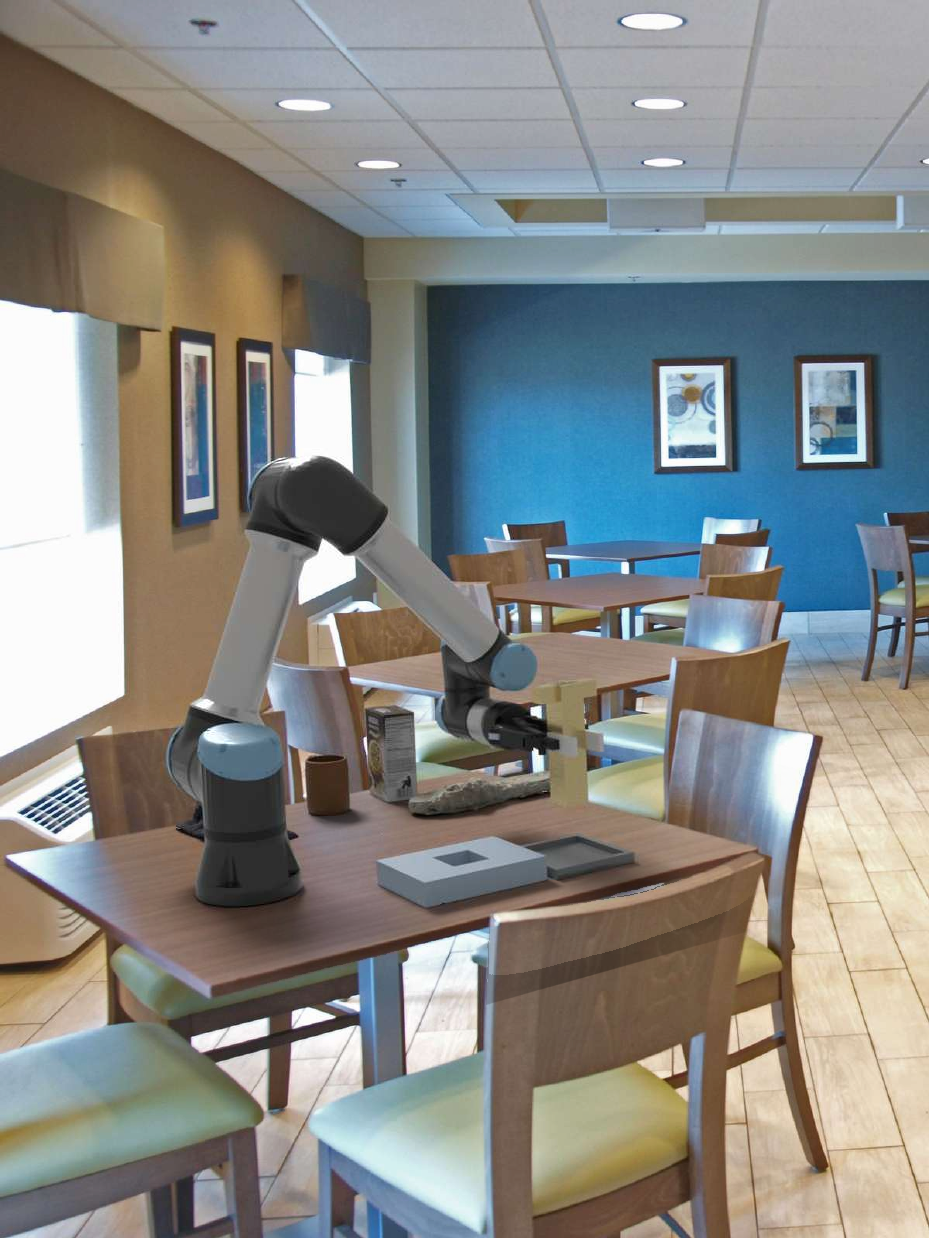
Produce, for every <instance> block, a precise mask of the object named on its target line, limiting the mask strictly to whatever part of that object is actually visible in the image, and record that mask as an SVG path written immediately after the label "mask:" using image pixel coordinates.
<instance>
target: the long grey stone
mask: <svg viewBox="0 0 929 1238" xmlns="http://www.w3.org/2000/svg"><path fill="white" fill-rule="evenodd" d="M542 791H547V793H550V774H549V770H548V771H547V770H540V771H535V772H531V773H527V774H521V775H515V776H514V775H513V776H508V777H504V778H499V779H494V780H489V781H487V780H485V779H484V778H479V777H472V778H469V779H468V781H462V782H457V783H453V784H450V785H443V786H440V787H439V788H438V789H434V790H432V791H431V790H430V791H428V792H425V793H422V794H420V795H417V797H413V798H411V799H408V810H409V811H410V812H411V813H415V814H421V815H422V814H423V815H427V816H431V815H439V814H456V813H459V812H460V813H461V812H462V811H463V812H464V811H477V810H479V809H483V808H485V807H487V806H492V805H496V804H498V803H499V804H501V803H504V802H505V801H507V800H509V799H513V798H514V799H517V798H521V799H523V798H526V797H528V796H531V795H536V794H537V795H538V794H540V795H542V794H545V793H544V792H542ZM478 808H479V809H478Z"/></svg>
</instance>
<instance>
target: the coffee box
mask: <svg viewBox="0 0 929 1238" xmlns="http://www.w3.org/2000/svg"><path fill="white" fill-rule="evenodd" d="M364 715H365V716H364V717H365V733H366V735H365V736H366V746H367V747H366V750H367V752H366V753H367V768H368V785H369V786H368V787H369V794H370V795H373V796H375V797H377V798H378V799H380V800H381V801H383V802H385V803H394V802H401V801H402V802H403V801H407V800H408V801H409V800H410V799H411V798H413V797H417V796H418V782H417V780H418V779H417V778H418V777H417V753H416V752H417V751H416V750H417V749H416V730H415V729H416V728H415V726H416V725H415V712H414V711H411V710H409V709H407V708H404V707H401V706H398V705H395V704H394V705H387V706H386V705H381V706H373V707H366V708H364Z"/></svg>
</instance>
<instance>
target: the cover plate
mask: <svg viewBox="0 0 929 1238" xmlns="http://www.w3.org/2000/svg"><path fill="white" fill-rule="evenodd" d="M375 863H376V865H375V866H376V881H377V882H376V884H377V885H378V886H381V887H383V888H385V889H386V890H388V891H390V892H393V893H395V894H397V895H398V896H401V897H403V898H404V899H407V900H409V901H411V902H413V903H415V904H417V905H419V906H421V907H422V908H425V909H427V908H432V907H435V906H439V905H440V904H441V905H443V904H442V903H445V904H448V903H453V901H454V902H457V900H458V901H461V900H462V901H463V900H465V899H469V898H470V899H471V898H475V897H479V896H483V895H488V894H491V893H496V892H500V890H501V891H504V890H509V889H510V890H511V889H513V888H517V887H518V888H519V887H522V886H528V885H532V884H536V883H540V882H544V881H548V876H547V860H546V856H545V855H543V854H540V853H537V852H535V851H532V850H529V849H527V848H524V847H521V845H519V844H515V843H514V842H510V841H507V840H505V839H502V838H499V837H497V836H493V835H492V836H488V837H484V838H483V837H482V838H477V839H474V840H467V841H463V842H459V843H453V844H449V845H444V846H439V847H434V848H430V849H426V850H421V851H415V852H410V853H404V854H402V855H401V854H400V855H395V856H392V857H386V858H381V859H377V860H375ZM441 905H440V906H441Z"/></svg>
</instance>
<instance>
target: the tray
mask: <svg viewBox="0 0 929 1238" xmlns="http://www.w3.org/2000/svg"><path fill="white" fill-rule="evenodd" d="M520 846H521V847H524V848H527V849H529V850H532V851H535V852H537V853H540V854H543V855H545V856H546V860H547V878H551V879H553V880H555V881H559V880H564V879H567V878H571V877H576V876H580V875H581V876H582V875H584V874H585V875H586V874H588V873H593V872H598V871H603V870H606V869H610V868H614V867H615V868H616V867H619V866H625V865H628V864H633V863H635V862H636V861H635V851H632V850H629V849H626V848H623V847H621V846H620V847H619V846H617V845H614V844H611V843H608V842H606V841H603V840H600V839H596V838H594V837H591V836H588V835H585V834H582V833H573V834H570V835H569V834H568V835H564V836H559V837H555V838H549V839H545V840H540V841H535V842H532V843H526V844H521V845H520Z"/></svg>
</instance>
